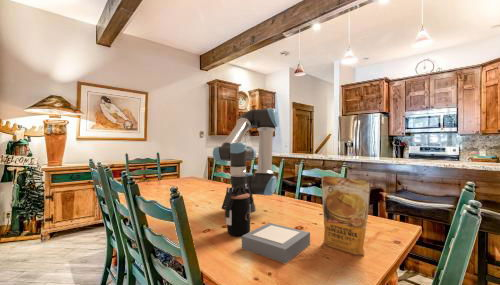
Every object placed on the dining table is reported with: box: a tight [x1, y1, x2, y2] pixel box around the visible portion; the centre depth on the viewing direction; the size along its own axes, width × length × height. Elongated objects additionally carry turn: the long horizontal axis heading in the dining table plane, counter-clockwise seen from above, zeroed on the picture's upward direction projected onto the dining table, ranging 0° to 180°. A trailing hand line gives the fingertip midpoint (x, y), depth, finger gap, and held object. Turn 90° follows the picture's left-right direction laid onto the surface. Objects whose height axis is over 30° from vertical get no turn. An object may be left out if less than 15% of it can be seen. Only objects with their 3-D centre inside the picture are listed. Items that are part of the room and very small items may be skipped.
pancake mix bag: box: [320, 175, 372, 256], centre depth 95 cm, size 7×19×28 cm, turn 45°
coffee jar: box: [226, 193, 251, 238], centre depth 112 cm, size 11×11×18 cm
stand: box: [241, 222, 311, 265], centre depth 96 cm, size 20×20×5 cm
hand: (238, 220), depth 112 cm, fingers open, 13 cm apart
